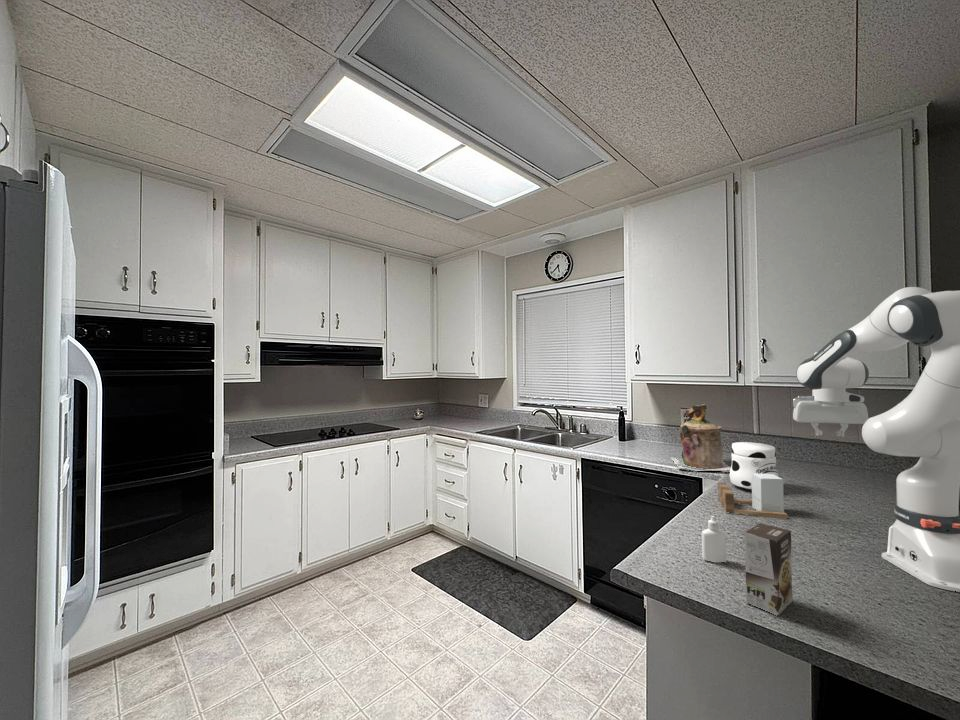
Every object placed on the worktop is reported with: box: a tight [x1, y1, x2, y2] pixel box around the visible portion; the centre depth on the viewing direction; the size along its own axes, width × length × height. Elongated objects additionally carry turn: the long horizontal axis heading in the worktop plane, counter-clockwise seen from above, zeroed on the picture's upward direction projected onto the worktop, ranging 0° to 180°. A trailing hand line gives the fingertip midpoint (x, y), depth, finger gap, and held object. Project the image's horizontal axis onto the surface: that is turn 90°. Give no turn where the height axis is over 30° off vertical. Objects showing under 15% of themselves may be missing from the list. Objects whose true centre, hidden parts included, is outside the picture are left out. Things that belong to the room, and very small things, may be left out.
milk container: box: [729, 441, 779, 492], centre depth 172 cm, size 17×17×18 cm
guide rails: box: [727, 498, 789, 520], centre depth 148 cm, size 13×18×2 cm
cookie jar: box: [670, 404, 731, 473], centre depth 208 cm, size 25×25×32 cm
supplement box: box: [751, 473, 785, 513], centre depth 146 cm, size 7×7×13 cm
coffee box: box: [744, 522, 793, 617], centre depth 92 cm, size 9×6×16 cm
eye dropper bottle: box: [701, 515, 727, 563], centre depth 112 cm, size 4×6×12 cm
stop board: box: [717, 482, 735, 514], centre depth 151 cm, size 13×2×7 cm, turn 160°
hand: (829, 435), depth 142 cm, fingers open, 5 cm apart
